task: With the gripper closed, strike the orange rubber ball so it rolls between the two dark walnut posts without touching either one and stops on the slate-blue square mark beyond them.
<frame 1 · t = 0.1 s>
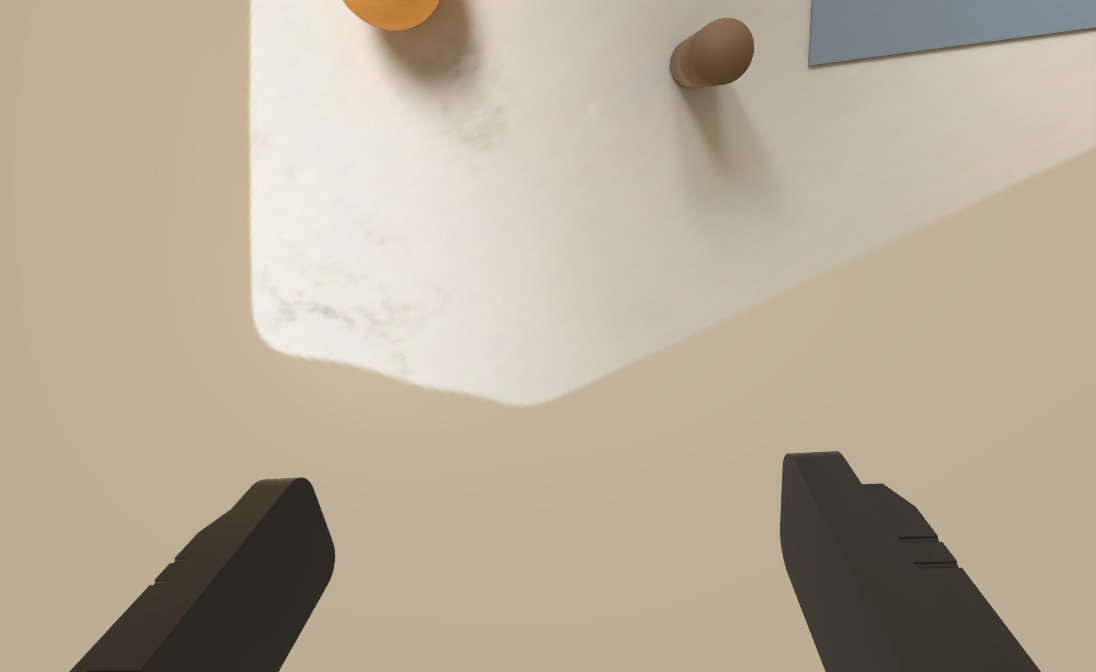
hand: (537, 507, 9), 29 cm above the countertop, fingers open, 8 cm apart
outer post: (692, 63, 32), on the countertop
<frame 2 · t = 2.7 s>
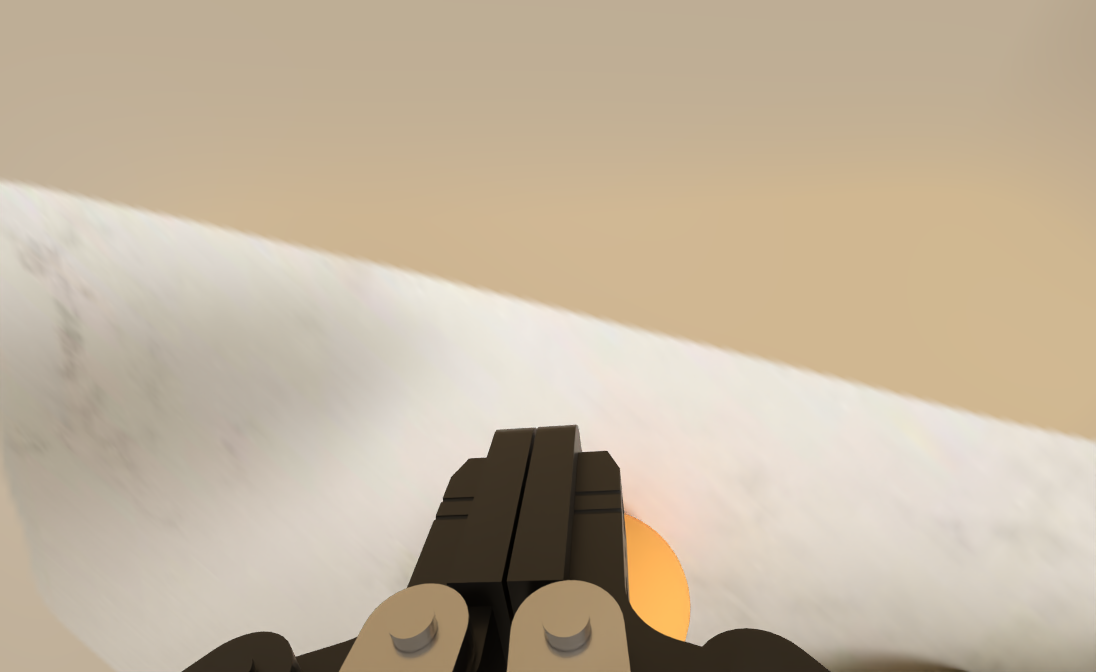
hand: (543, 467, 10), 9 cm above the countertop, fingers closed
ball: (604, 597, 20), on the countertop
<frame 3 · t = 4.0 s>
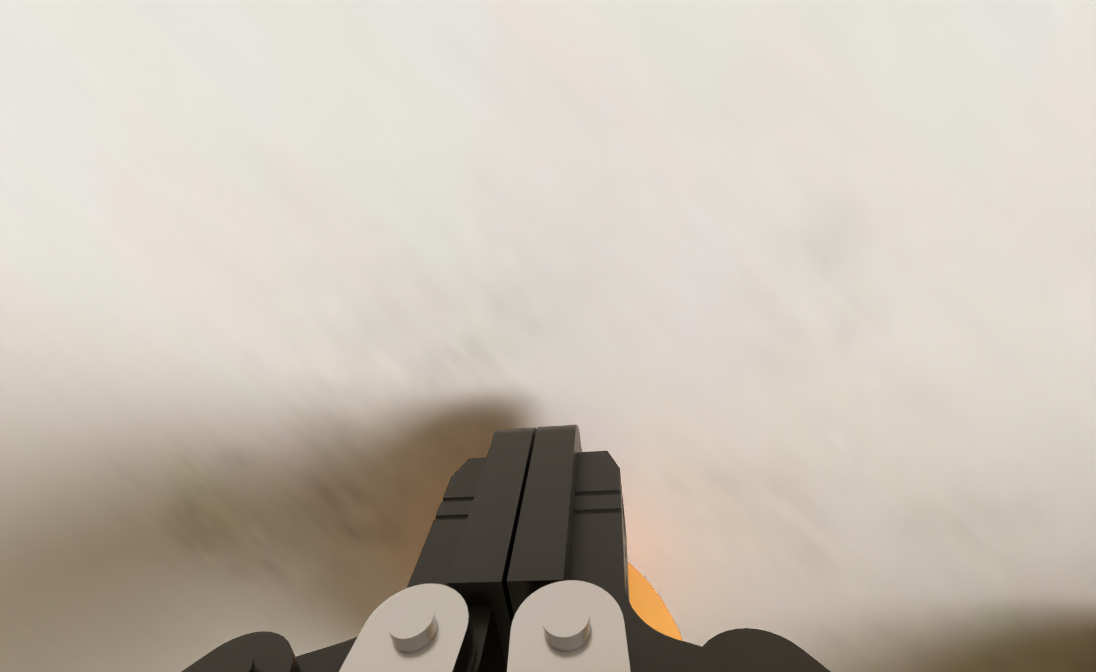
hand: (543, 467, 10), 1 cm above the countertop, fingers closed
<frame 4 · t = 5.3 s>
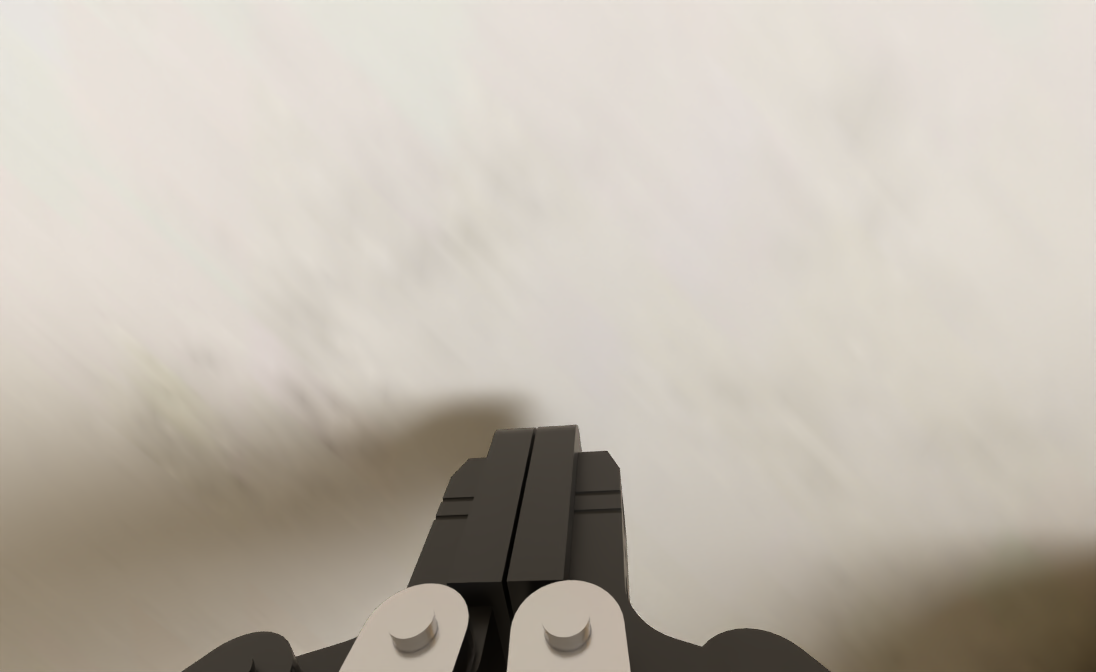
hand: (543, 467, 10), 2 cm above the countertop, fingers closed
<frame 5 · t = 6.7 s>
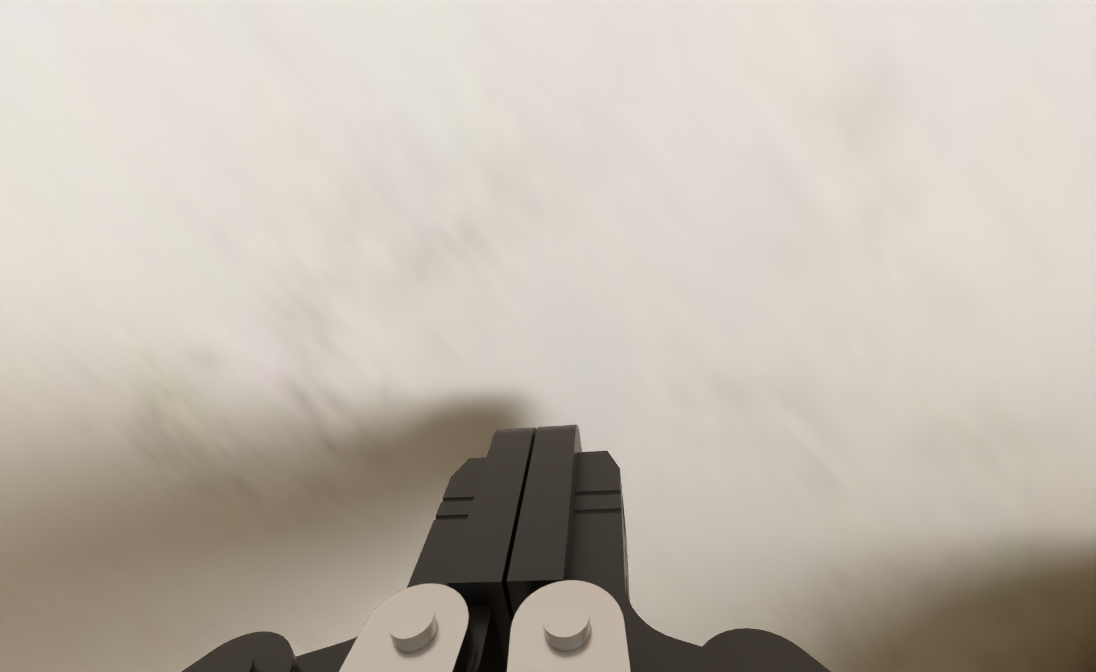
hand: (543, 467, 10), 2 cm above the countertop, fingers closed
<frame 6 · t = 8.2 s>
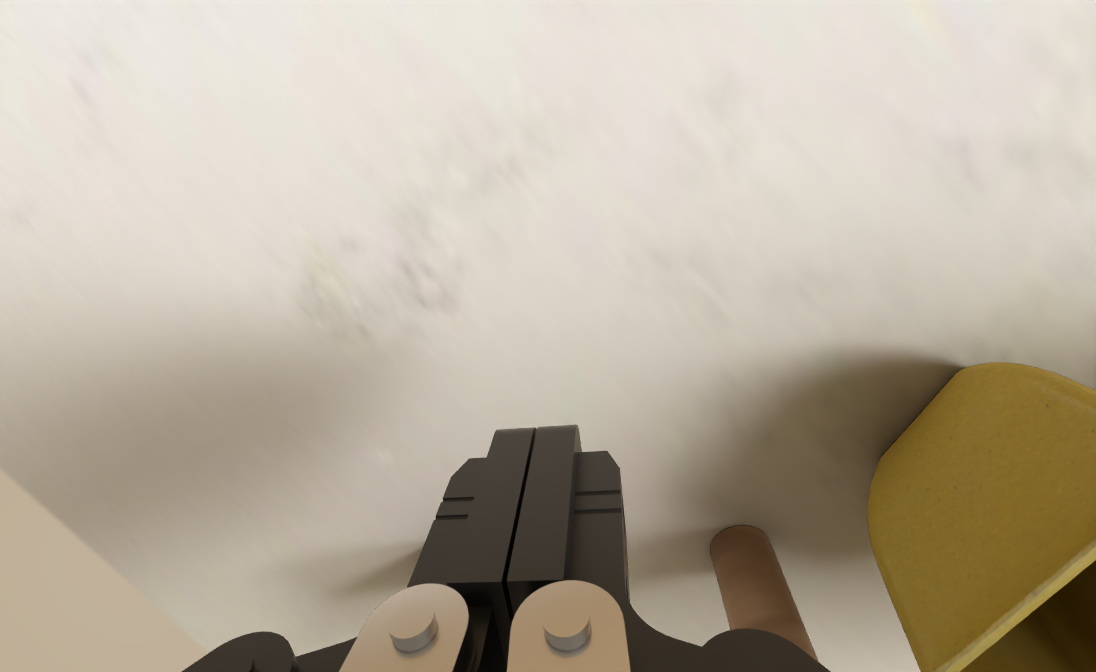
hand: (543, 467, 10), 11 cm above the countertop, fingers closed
inner post: (740, 548, 24), on the countertop
flower pot: (962, 436, 22), on the countertop
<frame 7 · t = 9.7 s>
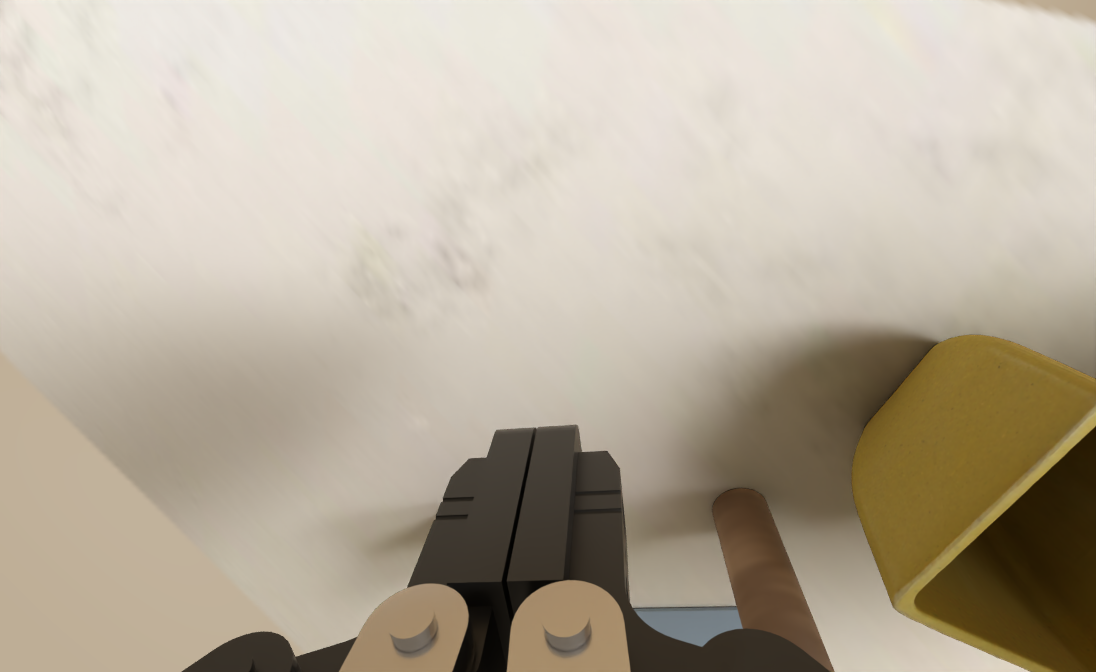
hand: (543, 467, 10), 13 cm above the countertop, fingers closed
inner post: (739, 509, 27), on the countertop
flower pot: (940, 406, 24), on the countertop
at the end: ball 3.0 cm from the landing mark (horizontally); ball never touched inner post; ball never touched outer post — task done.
